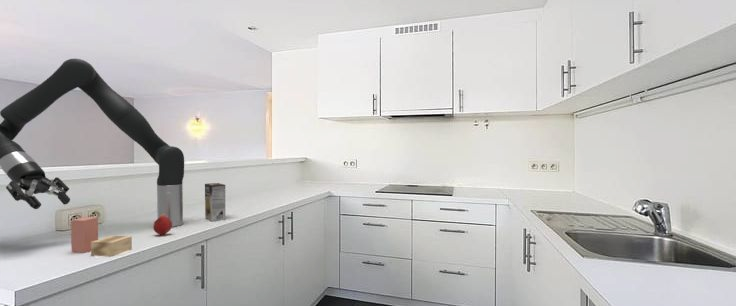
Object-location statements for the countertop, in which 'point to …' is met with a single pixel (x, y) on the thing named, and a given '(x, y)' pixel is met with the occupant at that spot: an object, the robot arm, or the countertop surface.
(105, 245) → the oak base block
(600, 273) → the countertop surface
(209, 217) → the coffee box
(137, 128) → the robot arm
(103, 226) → the countertop surface
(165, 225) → the onion
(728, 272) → the countertop surface
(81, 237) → the red pillar block
